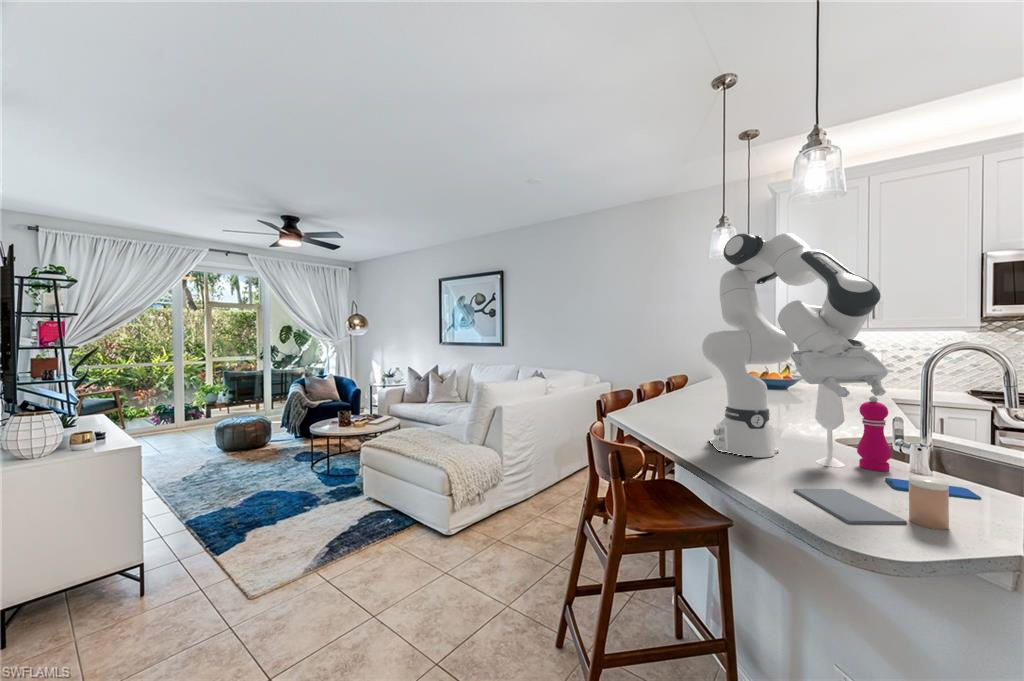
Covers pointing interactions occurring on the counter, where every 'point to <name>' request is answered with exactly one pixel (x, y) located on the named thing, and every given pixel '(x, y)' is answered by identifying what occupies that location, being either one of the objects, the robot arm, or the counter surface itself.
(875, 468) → the pepper mill
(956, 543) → the counter surface
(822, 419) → the champagne flute
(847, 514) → the slate mat
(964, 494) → the smartphone
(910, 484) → the terracotta jar
